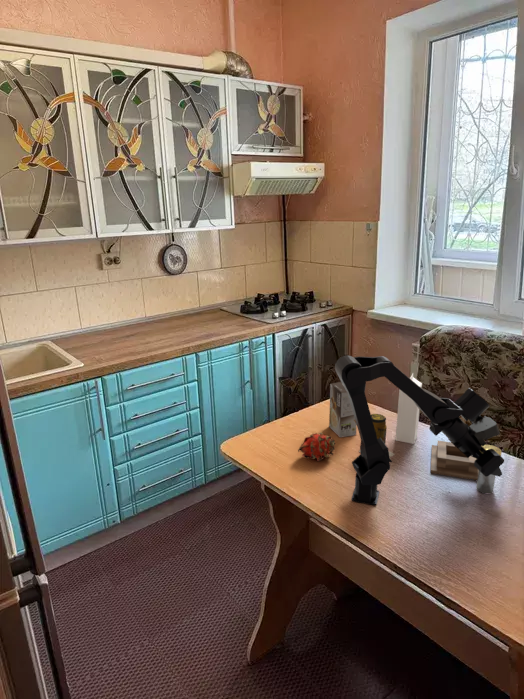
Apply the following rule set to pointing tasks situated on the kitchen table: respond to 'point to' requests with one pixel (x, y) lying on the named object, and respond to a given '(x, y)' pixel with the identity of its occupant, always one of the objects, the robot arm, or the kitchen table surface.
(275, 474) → the kitchen table surface
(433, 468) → the block
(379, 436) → the condiment
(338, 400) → the coffee box
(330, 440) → the dragon fruit
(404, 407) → the milk
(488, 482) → the pin
